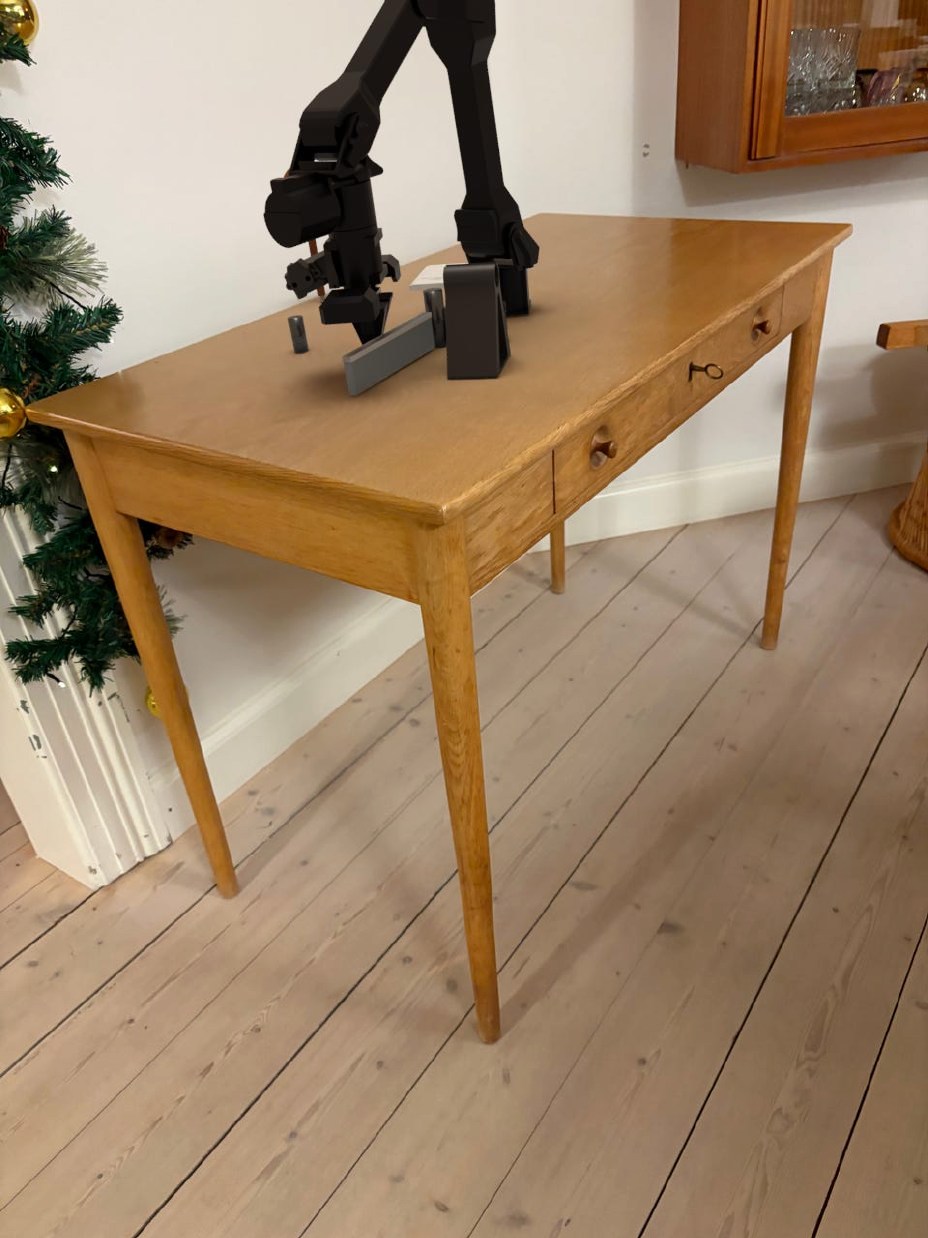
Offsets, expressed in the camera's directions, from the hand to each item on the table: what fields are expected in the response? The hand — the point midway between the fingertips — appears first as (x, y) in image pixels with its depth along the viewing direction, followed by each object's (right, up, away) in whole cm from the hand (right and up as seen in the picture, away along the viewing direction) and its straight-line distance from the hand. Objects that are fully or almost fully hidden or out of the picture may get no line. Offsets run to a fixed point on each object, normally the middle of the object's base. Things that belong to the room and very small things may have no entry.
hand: (373, 358), depth 121 cm
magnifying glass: (-11, +18, +34) cm, 40 cm away
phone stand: (+13, -2, -2) cm, 13 cm away
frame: (+3, +4, +9) cm, 10 cm away
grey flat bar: (+3, -2, -1) cm, 3 cm away
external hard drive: (+8, +22, +39) cm, 45 cm away
